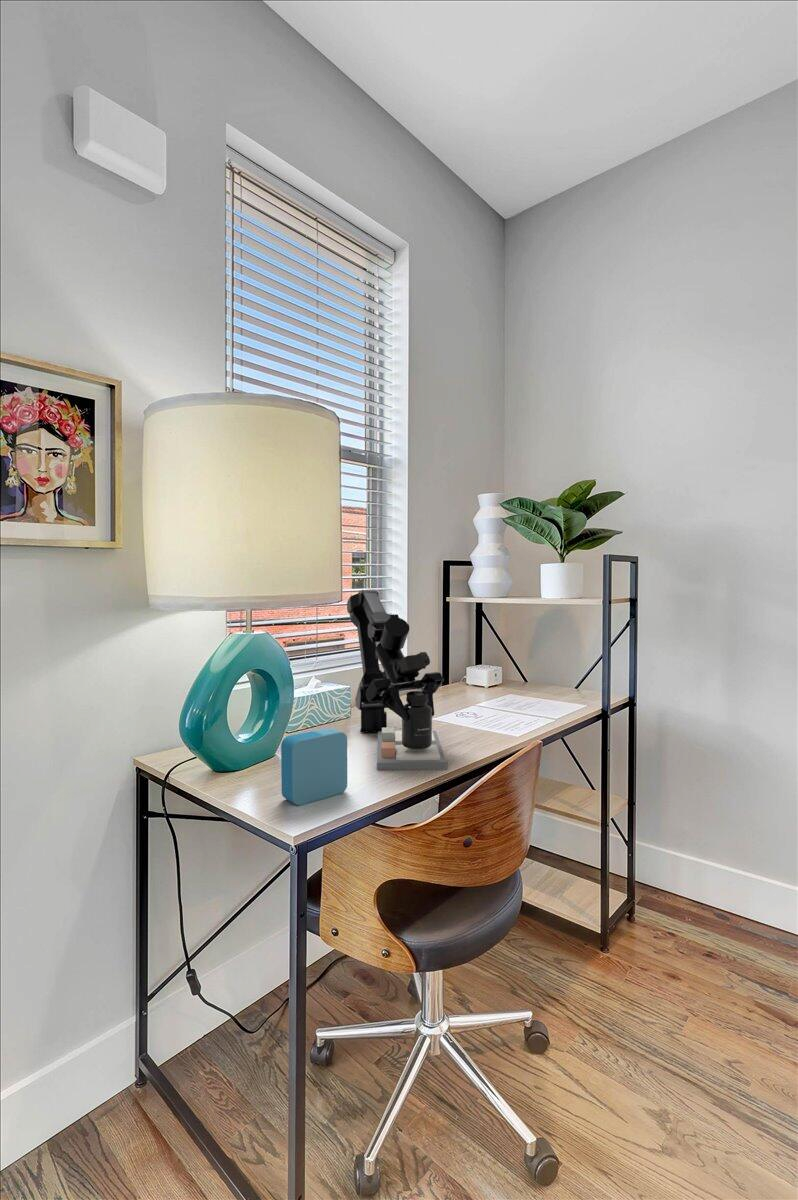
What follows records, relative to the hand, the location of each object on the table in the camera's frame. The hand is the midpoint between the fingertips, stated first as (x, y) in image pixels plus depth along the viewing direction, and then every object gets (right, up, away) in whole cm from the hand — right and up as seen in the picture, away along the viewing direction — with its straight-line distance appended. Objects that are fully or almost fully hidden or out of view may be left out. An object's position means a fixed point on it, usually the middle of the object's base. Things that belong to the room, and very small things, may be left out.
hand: (420, 717), depth 135 cm
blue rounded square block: (-21, -11, -20) cm, 31 cm away
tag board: (-2, -10, +8) cm, 13 cm away
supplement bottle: (-1, -7, +2) cm, 7 cm away
